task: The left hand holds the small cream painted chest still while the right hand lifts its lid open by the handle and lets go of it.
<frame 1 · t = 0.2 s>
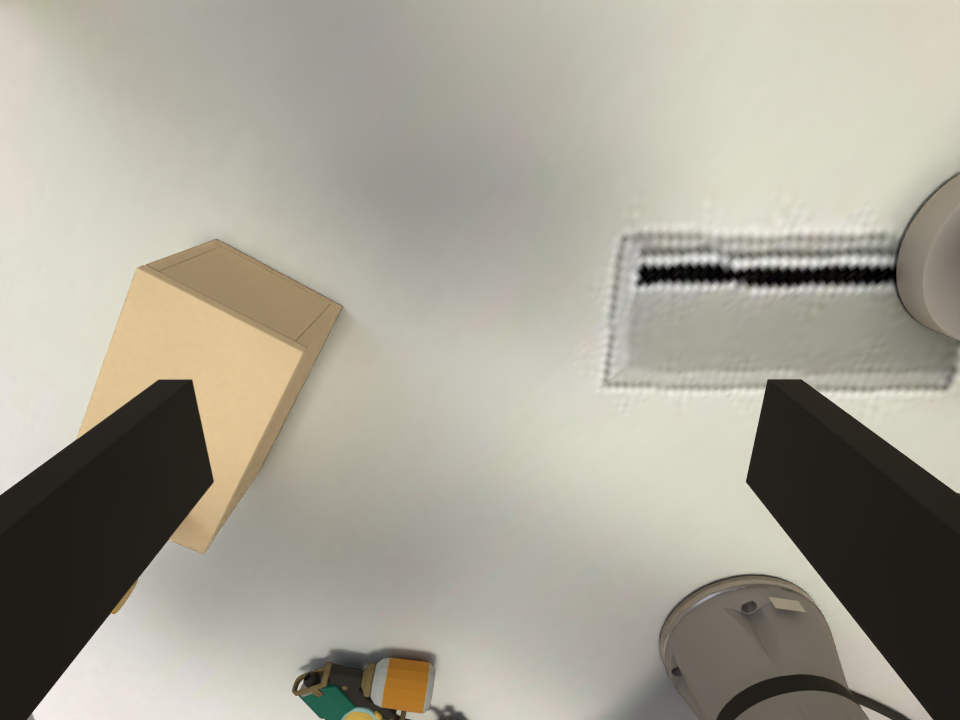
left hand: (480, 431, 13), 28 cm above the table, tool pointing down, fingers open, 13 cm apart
chest: (239, 364, 42), on the table
lid: (141, 456, 30), point 13 cm above the table, hinge at 0.0°
spray gun: (389, 700, 56), on the table
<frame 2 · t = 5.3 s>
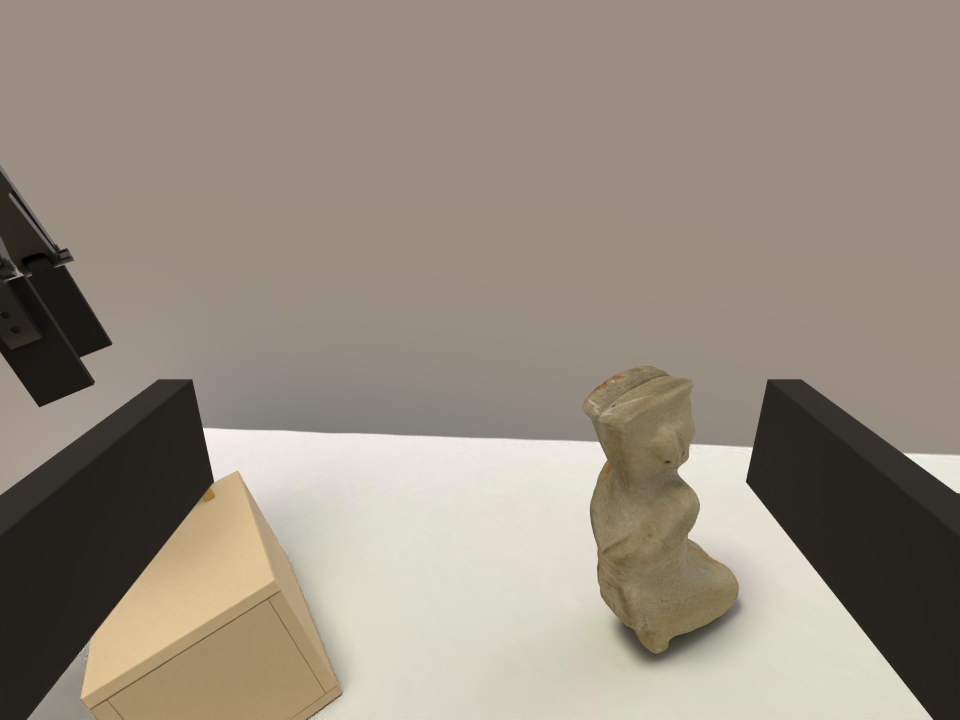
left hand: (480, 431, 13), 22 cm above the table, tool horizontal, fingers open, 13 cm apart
chest: (246, 658, 39), on the table
lid: (151, 514, 34), point 13 cm above the table, hinge at 0.0°
sculpture: (674, 615, 32), on the table
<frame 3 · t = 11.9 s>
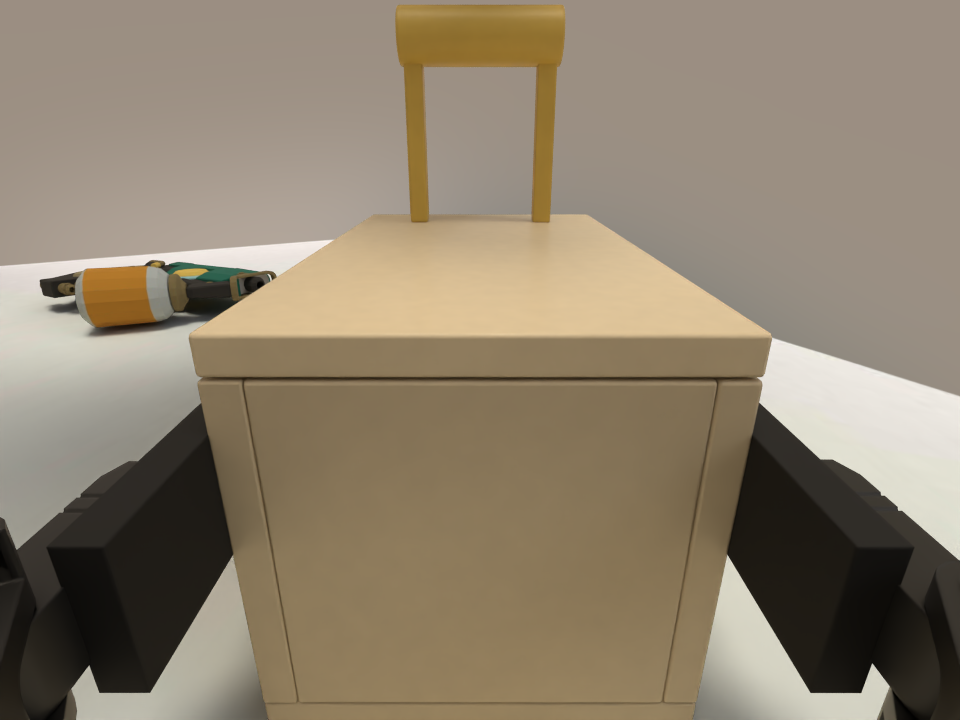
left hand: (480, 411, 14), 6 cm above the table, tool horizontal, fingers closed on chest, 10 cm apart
chest: (480, 507, 20), on the table, touching left hand
lid: (480, 127, 16), point 13 cm above the table, hinge at 0.0°
spray gun: (163, 305, 46), on the table
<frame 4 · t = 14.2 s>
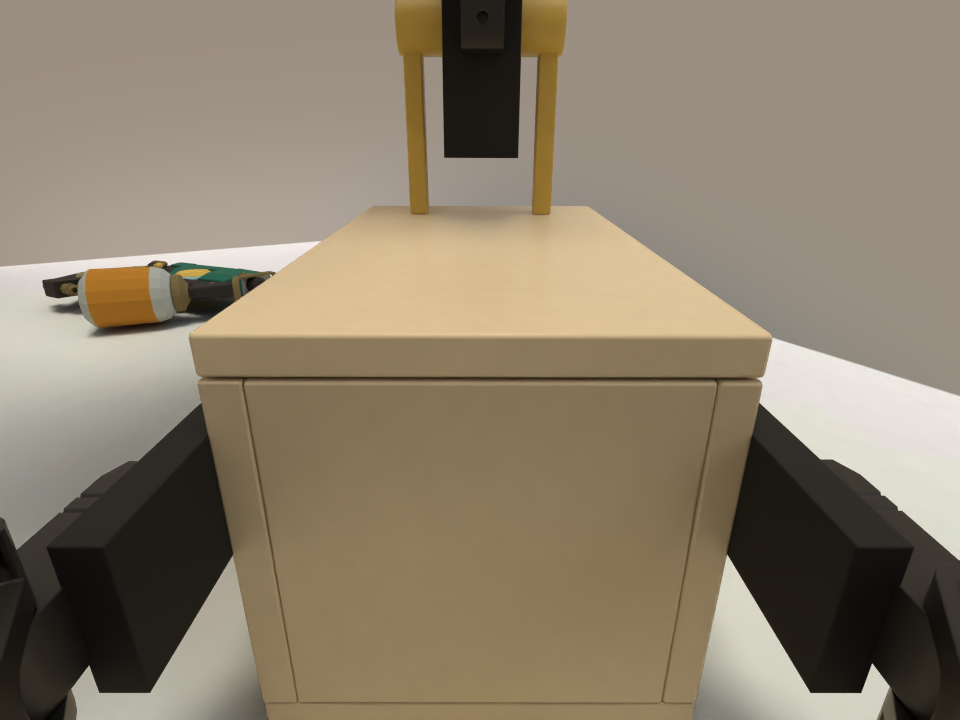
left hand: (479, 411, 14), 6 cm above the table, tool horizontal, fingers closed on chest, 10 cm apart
chest: (479, 507, 20), on the table, touching left hand
lid: (480, 120, 16), point 13 cm above the table, hinge at 1.3°, touching right hand
spray gun: (165, 305, 46), on the table
when the left hand's fingers open (6 cm above the table, at t = 21.8 s): chest stays where it is, on the table.
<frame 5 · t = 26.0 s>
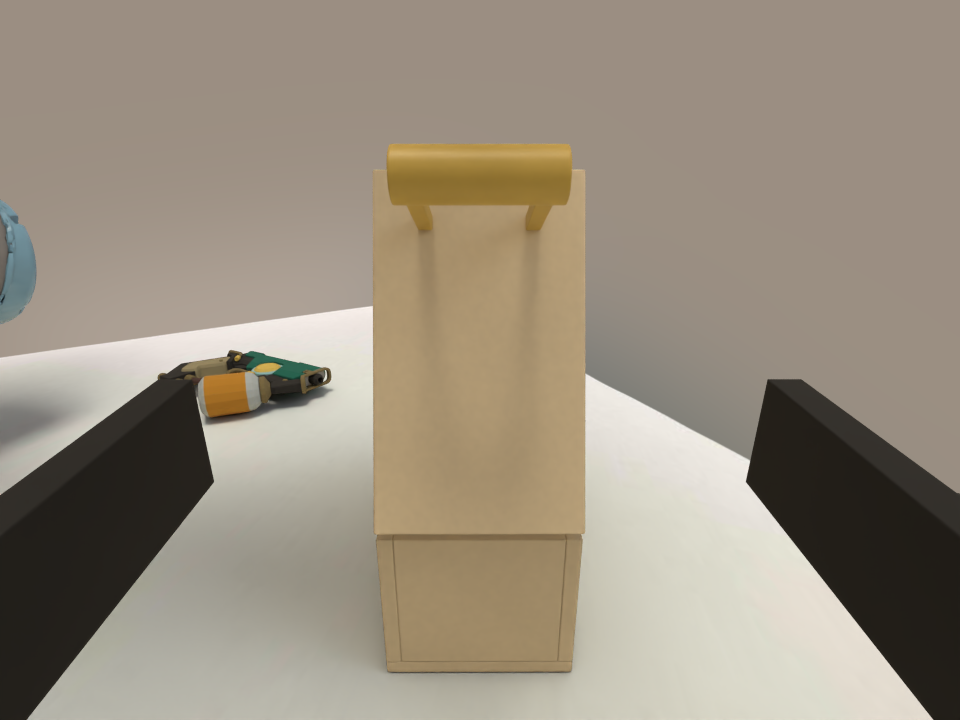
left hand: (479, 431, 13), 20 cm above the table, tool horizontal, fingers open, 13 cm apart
chest: (479, 562, 37), on the table
lid: (479, 352, 22), point 19 cm above the table, hinge at 69.0°
spray gun: (246, 391, 62), on the table
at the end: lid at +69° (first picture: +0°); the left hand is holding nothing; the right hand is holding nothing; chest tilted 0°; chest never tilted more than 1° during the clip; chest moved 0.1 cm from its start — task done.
